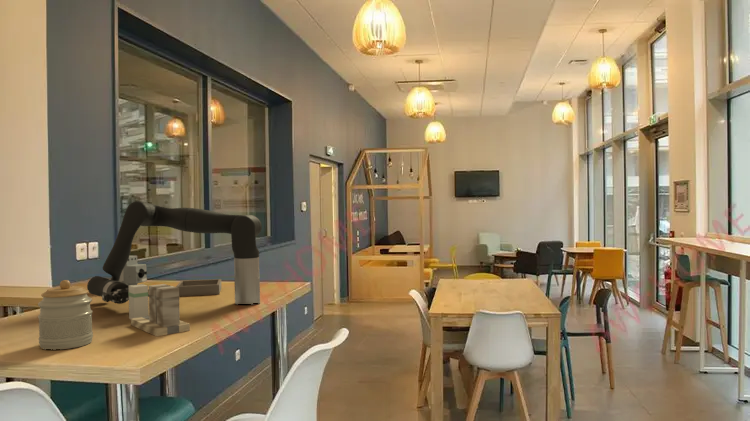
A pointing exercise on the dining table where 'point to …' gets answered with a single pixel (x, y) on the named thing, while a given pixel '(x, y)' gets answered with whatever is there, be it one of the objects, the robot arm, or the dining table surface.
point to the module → (138, 301)
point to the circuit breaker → (133, 272)
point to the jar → (65, 317)
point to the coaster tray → (199, 287)
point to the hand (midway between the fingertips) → (132, 297)
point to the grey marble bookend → (162, 312)
